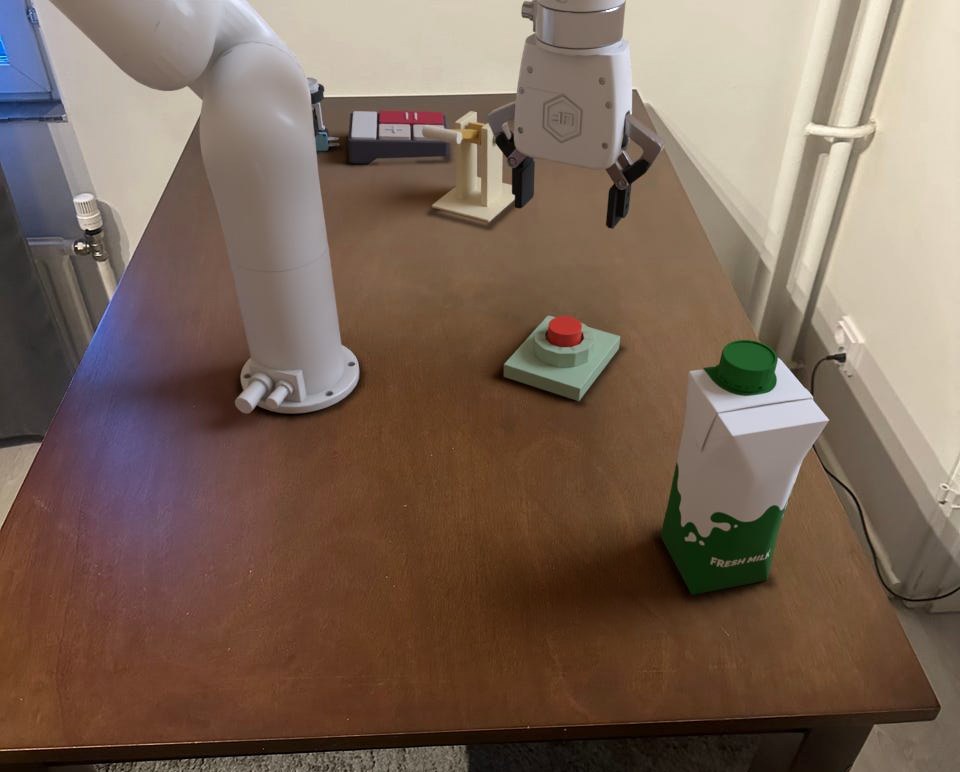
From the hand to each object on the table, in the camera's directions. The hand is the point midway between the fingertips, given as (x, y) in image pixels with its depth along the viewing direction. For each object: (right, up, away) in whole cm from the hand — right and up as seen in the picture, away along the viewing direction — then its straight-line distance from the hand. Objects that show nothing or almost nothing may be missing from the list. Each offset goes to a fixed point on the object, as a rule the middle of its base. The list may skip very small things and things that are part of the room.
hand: (568, 212), depth 88 cm
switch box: (0, -13, +11) cm, 17 cm away
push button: (-34, +27, +52) cm, 67 cm away
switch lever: (-11, +18, +28) cm, 35 cm away
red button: (0, -11, +9) cm, 14 cm away
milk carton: (+12, -34, -10) cm, 37 cm away
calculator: (-21, +27, +52) cm, 62 cm away
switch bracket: (-9, +14, +38) cm, 41 cm away
